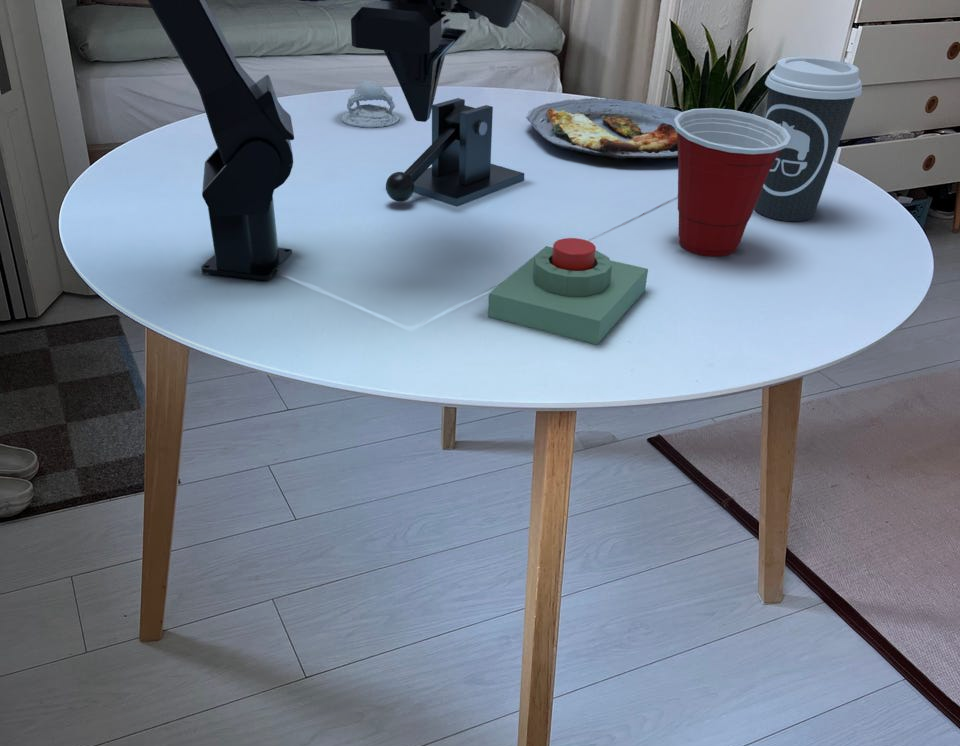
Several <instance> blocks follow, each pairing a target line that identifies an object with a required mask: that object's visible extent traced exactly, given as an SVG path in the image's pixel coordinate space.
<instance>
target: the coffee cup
mask: <svg viewBox="0 0 960 746" xmlns="http://www.w3.org/2000/svg"><path fill="white" fill-rule="evenodd" d="M859 69H860V68H859V67H857V66H856V65H854V64H852V63H849V62H846V61H842V60H839V59H832V58H826V57H816V56H790V57H789V56H788V57H783V58H780V59H778V60H777V62H776V65H775V66H774V69H772V70H771V71H770V72H769V74H768V75H767V76H766V78H765V81H764V85H765V86H766V87H767V88H768V90H767V100H766V108H765V117H764V118H765V119H768V120H771V121H773V122H775V123H777V124H778V125H780V126H781V127H783V128H785V129H786V130H787V132H788V133H789V135H790V137H791V138H790V140H789V142H788V144H787V145H786V147H785V148H784V149H782V150H781V151H780V153H779V154H778V156H777V158H776V160H775V161H774V163H773V165H772V167H771V169H770V171H769V173H768V175H767V178H766V180H765V183H764V185H763V188H762V190H761V193H760V195H759V198H758V200H757V203H756V205H755V208H754V211H755V212H756V213H758V214H759V215H761V216H763V217H766V218H769V219H772V220H776V221H782V222H783V221H784V222H804V221H809V220H811V219H812V218H814V217H815V214H816V211H817V208H818V205H819V202H820V200H821V197H822V195H823V194H822V193H823V191H824V188H825V185H826V182H827V179H828V177H829V173H830V171H831V168H832V165H833V162H834V160H835V156H836V153H837V150H838V149H839V148H838V147H839V144H840V142H841V139H842V137H843V134H844V130H845V127H846V125H847V122H848V119H849V116H850V113H851V111H852V108H853V106H854V103H855V100H856V98H857V97H859V96H861V95H862V93H863V85H862V80H861V79H860V78H859V76H860V70H859Z"/></svg>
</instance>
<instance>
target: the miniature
mask: <svg viewBox="0 0 960 746" xmlns="http://www.w3.org/2000/svg"><path fill="white" fill-rule="evenodd" d="M366 101H383V102H386V103H387V105H388V106H389V107H387V106H382V105H381V104H370V103H369V104H360V102H366ZM354 103H355V104H356V106H355V107H353V106H354ZM352 107H353V108H352ZM395 107H396V105H395V102H394V100H393V96H392V95H390V94H389V93H388V92H387V91H386V90H385V89H384V87H383V86H382V85H381V84H380V83H378V82H377V81H376V82H375V81H370V80H364V81H361V82H360V83H359V84H357V86H356V87H355V89H354V93H353V94H351V95H350V97H348V98H347V103H346V109H347V110H348V112H346V113H344V114H343V115H342V116H341V121H342V122H343V124H346V125H348V126H352V127H357V128H358V127H360V128H385V127H389V126H393V125H396V124H397V123H398V122H399V121H400V117H399V115H398V114H396V113H395V112H394V111H393V110H394V109H395Z"/></svg>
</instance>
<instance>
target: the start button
mask: <svg viewBox="0 0 960 746" xmlns="http://www.w3.org/2000/svg"><path fill="white" fill-rule="evenodd" d="M552 247H553V254H552V265H554V266H555V267H557V268H560V269H564V270H568V271H585V270H589V269H593V267H594V260H595V251H597V250H596V249H597V247H596V244H595V243H593V242H592V241H589V240H587V239H583V238H576V237H566V238H561V239H557V240H556V241H555V242H553V245H552Z"/></svg>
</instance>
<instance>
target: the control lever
mask: <svg viewBox="0 0 960 746" xmlns="http://www.w3.org/2000/svg"><path fill="white" fill-rule="evenodd" d="M474 108H475V107H473V106H470V105H462V104H459V105H458V106H457V107H456V108H455V109H454V110H453V111H452V112H451V113H450V114H449V115H448V116H447V117H446V118H445V119H444V121H445V124H446V127H447V129H446V130H445V131H444V132H443V133H442V134H441V135H440V136H439V137H438V138H437V139H436V140H435V142H434V143H433V144H432V143H431V145H430V146H428V148H427V149H425V151H423V153H422V154H421V155H419V157H418V158H416V160H415V161H414V162H413V163H412V164H411V165H410V166H409V167H408V168H407V169H406V170H405V171H404V172H403V171H396V172H393V173H391V174H390V175H389V176H388V177H387V179H386V181H385V192H386V194H387V195H388V198H390V199H391V200H393V201H395V202H398V203H399V202H400V203H402V202H406V201H408V200H409V199H411V197H412V196H413V195H414V182H415V181H416V180H417V179H418V178H419V177H420V176H421V175H422V174H423V173H424V172H425V171H426V170H427V169H428V168H430V167H431V166H432V163H433V162H434V161H435V160H436V159H437V158H438V157H439V156H440V155H441V154H442V153H443V152H444V151H445V150H446V149H447V148H448V147H449V146H450V145H451V144H452V143H453V142H454V141H455V140H459V141H460V112H464V111H467V110H471V109H474Z"/></svg>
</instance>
